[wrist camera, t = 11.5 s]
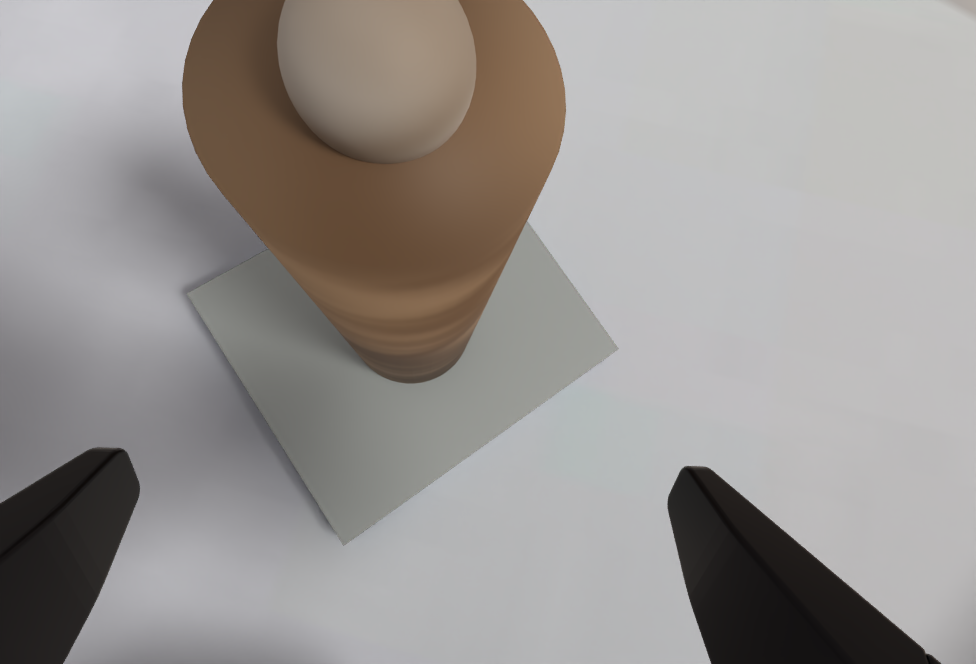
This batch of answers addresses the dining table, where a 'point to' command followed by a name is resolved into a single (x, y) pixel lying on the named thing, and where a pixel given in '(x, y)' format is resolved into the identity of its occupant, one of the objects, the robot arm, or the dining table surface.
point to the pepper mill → (380, 154)
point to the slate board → (388, 404)
